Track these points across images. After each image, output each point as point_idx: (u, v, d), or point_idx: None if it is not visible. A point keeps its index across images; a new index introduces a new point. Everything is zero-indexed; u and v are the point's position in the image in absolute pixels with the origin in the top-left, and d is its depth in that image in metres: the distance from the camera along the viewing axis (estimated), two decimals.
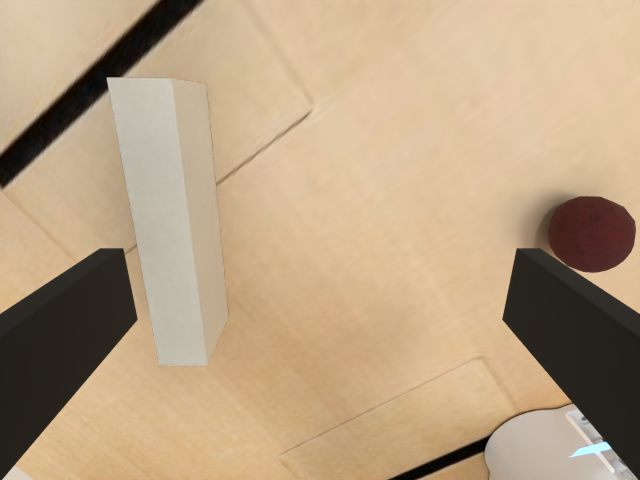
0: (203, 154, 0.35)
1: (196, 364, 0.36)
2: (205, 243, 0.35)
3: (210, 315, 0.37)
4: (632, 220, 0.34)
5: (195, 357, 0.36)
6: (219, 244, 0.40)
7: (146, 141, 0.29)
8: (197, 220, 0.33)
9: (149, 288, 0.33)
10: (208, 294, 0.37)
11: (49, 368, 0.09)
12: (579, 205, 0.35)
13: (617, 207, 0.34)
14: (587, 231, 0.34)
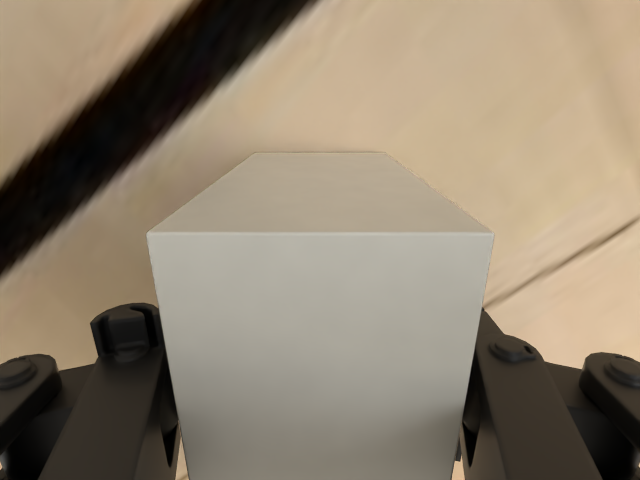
0: None
1: None
2: None
3: None
4: None
5: None
6: None
7: (309, 473, 0.07)
8: None
9: None
10: None
11: None
12: None
13: None
14: None
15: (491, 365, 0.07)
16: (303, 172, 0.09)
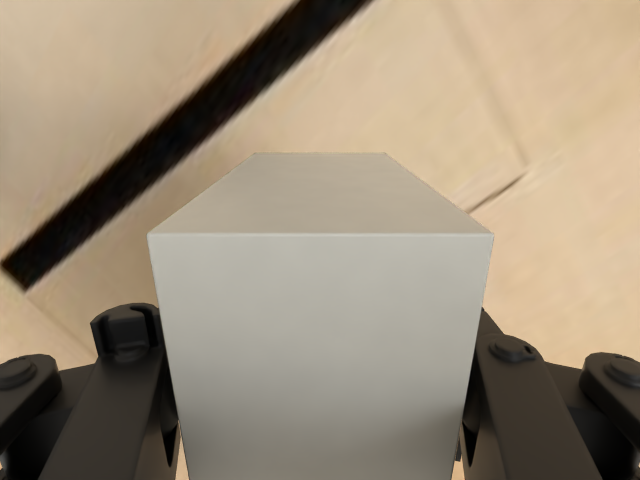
0: None
1: None
2: None
3: None
4: None
5: None
6: None
7: (309, 473, 0.07)
8: None
9: None
10: None
11: None
12: None
13: None
14: None
15: (490, 365, 0.07)
16: (303, 173, 0.09)
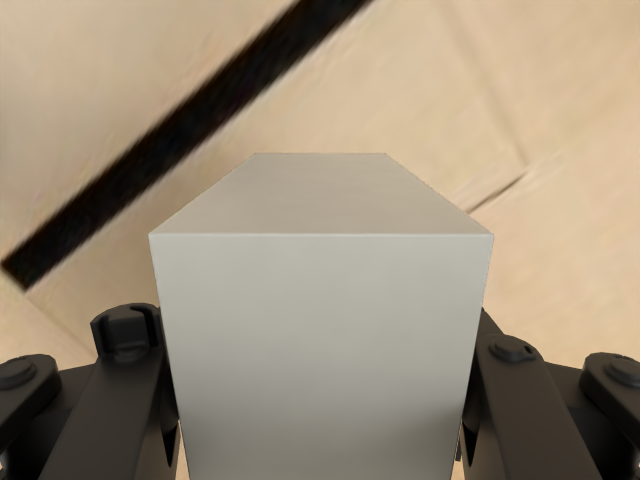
0: None
1: None
2: None
3: None
4: None
5: None
6: None
7: (309, 473, 0.07)
8: None
9: None
10: None
11: None
12: None
13: None
14: None
15: (490, 365, 0.07)
16: (303, 173, 0.09)
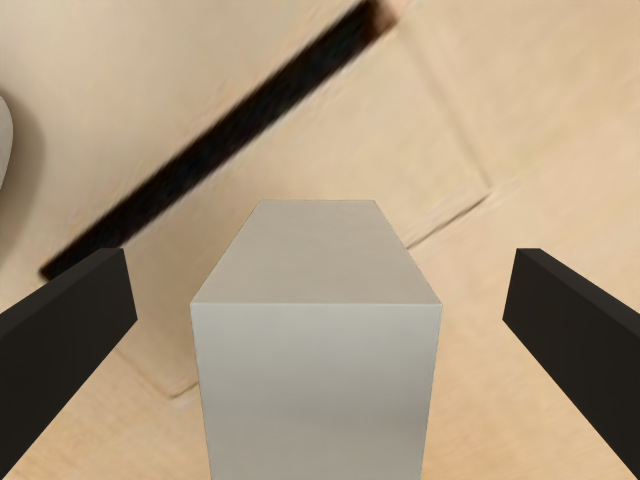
0: None
1: None
2: None
3: None
4: None
5: None
6: None
7: None
8: None
9: None
10: None
11: (50, 367, 0.09)
12: None
13: None
14: None
15: None
16: (303, 229, 0.11)
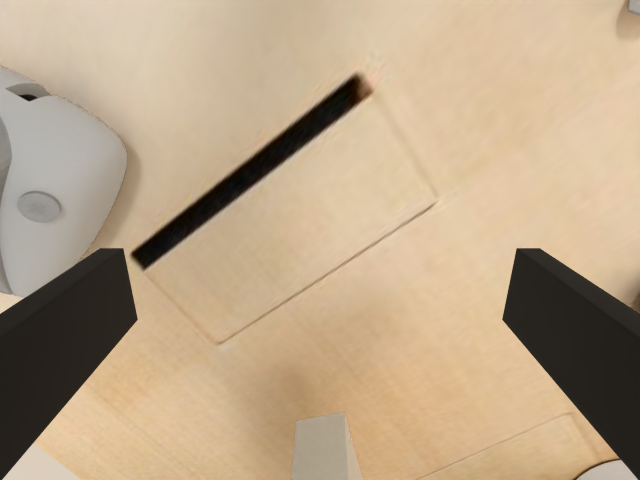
0: None
1: None
2: None
3: None
4: None
5: None
6: None
7: None
8: None
9: None
10: None
11: (49, 367, 0.09)
12: None
13: None
14: None
15: None
16: (314, 455, 0.32)
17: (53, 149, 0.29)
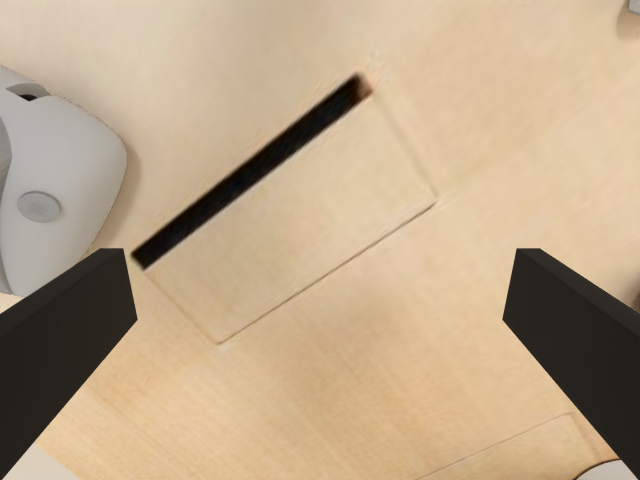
0: None
1: None
2: None
3: None
4: None
5: None
6: None
7: None
8: None
9: None
10: None
11: (49, 367, 0.09)
12: None
13: None
14: None
15: None
16: None
17: (53, 149, 0.29)
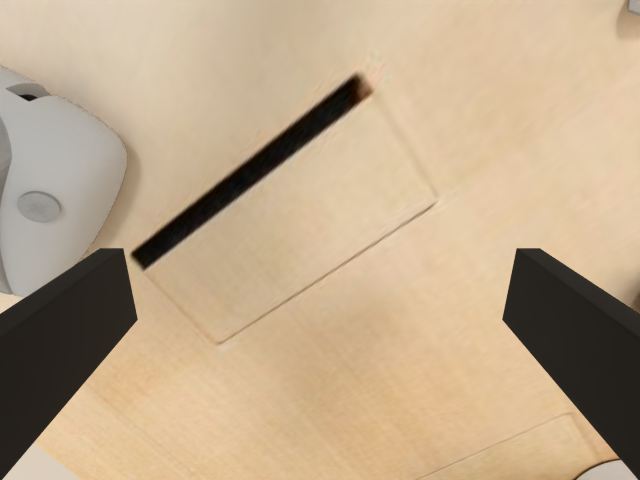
0: None
1: None
2: None
3: None
4: None
5: None
6: None
7: None
8: None
9: None
10: None
11: (49, 367, 0.09)
12: None
13: None
14: None
15: None
16: None
17: (53, 149, 0.29)
